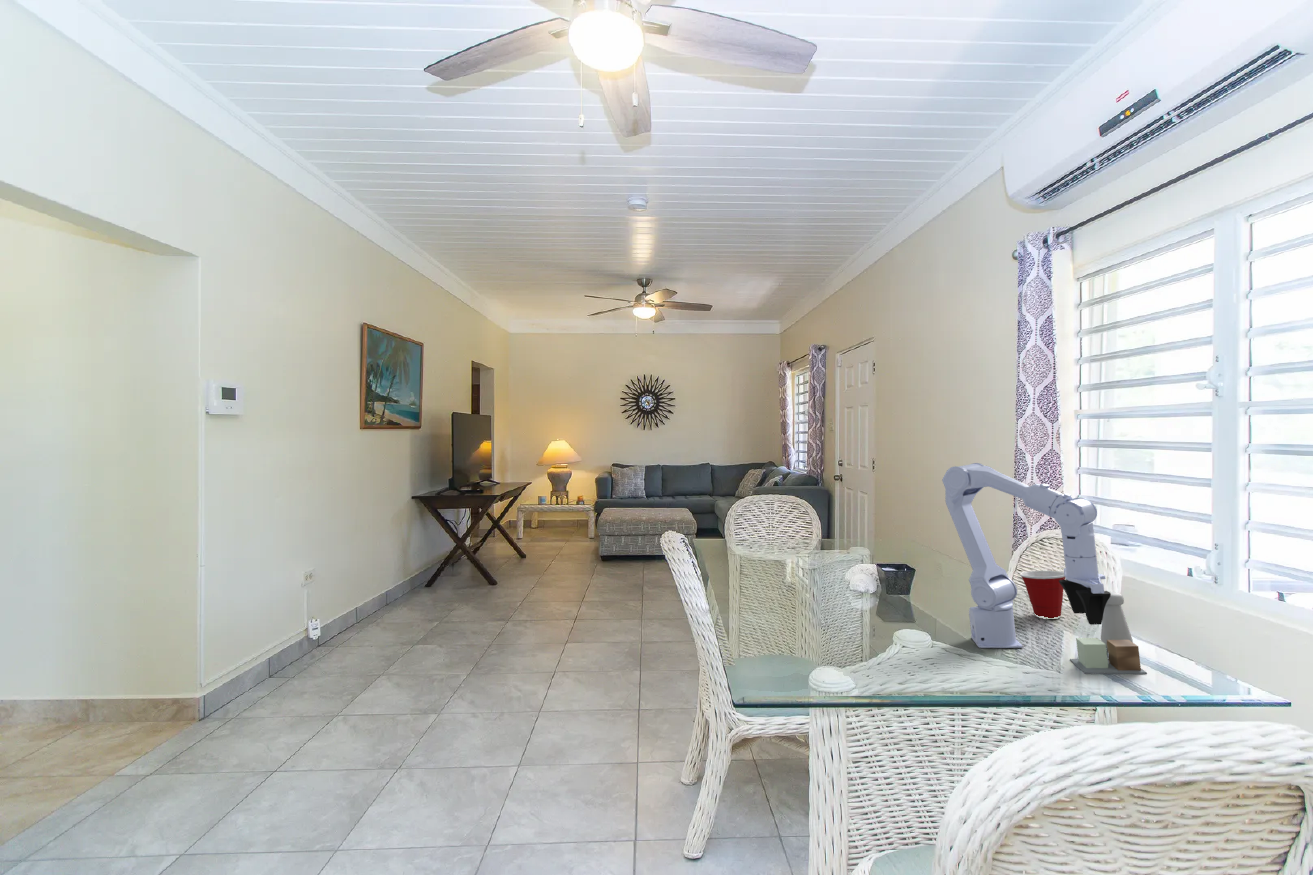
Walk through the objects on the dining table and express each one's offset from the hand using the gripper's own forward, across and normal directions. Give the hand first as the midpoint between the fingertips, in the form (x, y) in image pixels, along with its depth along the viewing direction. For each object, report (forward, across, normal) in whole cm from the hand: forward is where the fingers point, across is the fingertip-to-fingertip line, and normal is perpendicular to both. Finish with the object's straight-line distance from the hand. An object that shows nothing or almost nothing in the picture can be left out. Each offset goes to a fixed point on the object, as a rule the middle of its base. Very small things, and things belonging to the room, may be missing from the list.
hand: (1087, 618), depth 127 cm
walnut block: (+10, -1, -6) cm, 11 cm away
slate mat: (+10, 0, -2) cm, 11 cm away
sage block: (+10, 0, 0) cm, 10 cm away
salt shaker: (+10, +9, -8) cm, 16 cm away
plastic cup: (+10, +34, -3) cm, 36 cm away
